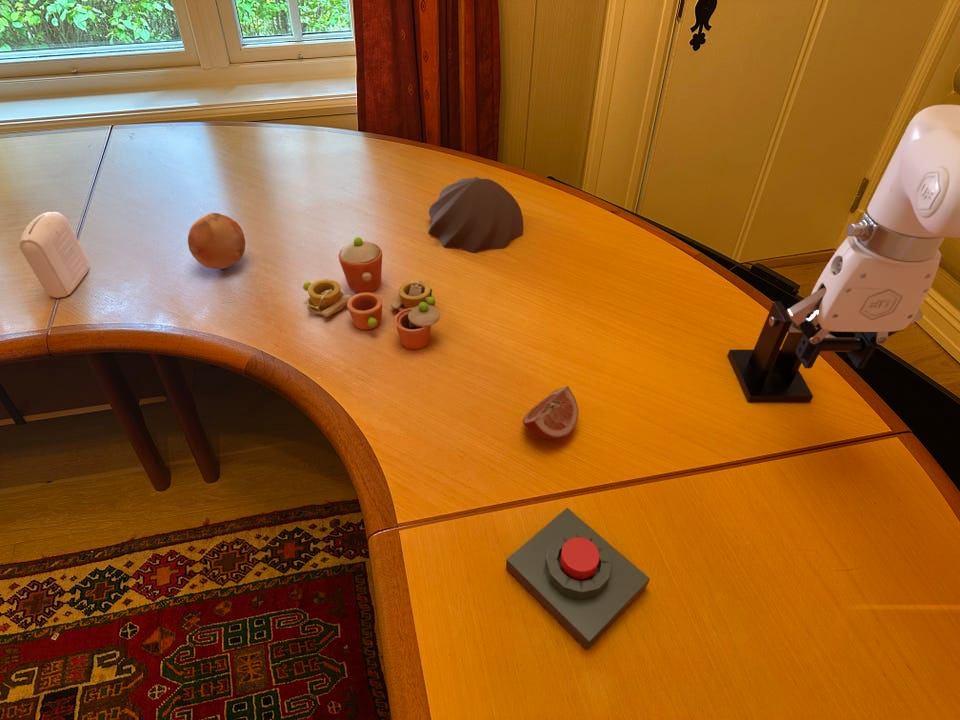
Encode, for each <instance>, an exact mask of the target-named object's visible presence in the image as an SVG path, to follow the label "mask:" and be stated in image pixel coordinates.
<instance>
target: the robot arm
mask: <svg viewBox="0 0 960 720" xmlns="http://www.w3.org/2000/svg"><path fill="white" fill-rule="evenodd" d="M846 234H847V237H846V238H845V239H844V241H842V243H841V244H840V246H839V247H838V248H837V250H836V251H835V252H834V254H833V255H832V257H830V260H829V261H828V262H827V264H826V266H825V267H824V269H823V271H822V272H821V274H820V277H818V280H817V281H816V283H815V285H814V287H813V289H812V291H811V294H810V295H808V296H806V297H805V298H803V299H802V300H800V301H799V302H797V303H795V304H793V305H792V306H790V307H789V308H787V310H786V311H787V313H788V315H789V316H790V318H791V320H792V321H793V322H794V323H795V324H796V325H797V326H798V327H799V328H800V329H801V331H802V332H803V333H804V334H803V336H802V338H801V340H800V342H799V344H798V346H797V348H796V355H797V356H798V358H799V359H800V361H801V362H802V363H801V365H802V366H803V368H804V369H811V368H813V366H814V365H815V362H816V361H817V358H818V357H819V356H820V354H821V352H820V351H821V349H822V347H823V344H822V342H821V340H822V339H823V338H824V337H825V336H826V335H827V334H830V333H831V332H839V333H840V332H841V333H844V332H845V333H846V332H847V333H855V335H854V337H853V338H862V339H863V340H864V342H865V347H864V349H863V351H861V352H845V353H846V355H847V356H848V358H849V359H850V361H851V363H852V364H853V365H854V367H855V368H856V369H859V370H860V369H862V370H863V369H864V368H865V366H866V364H867V363H868V362H869V360H870V358H871V357H872V355H873V353H874V352H875V350H876V348H877V347H878V345H883V344H885V343H886V342H887V341H888V338H889V337H891V336H892V335H894V334H896V333H898V332H901V331H903V330H905V329H906V328H907V327H908V326H909V325H912V324H914V323H915V322H918V321H920V320H922V319H923V318H924V314H923V312H922V310H921V307H922V306H923V303H924V301H925V299H926V297H927V295H928V294H929V291H930V290H931V287H932V285H933V283H934V280H935V278H936V275H937V272H938V269H939V266H940V263H941V258H942V253H941V251H940V250H939V249H940V247H941V245H942V244H943V242H944V240H945V239H946V238H951V239H952V238H954V239H960V105H959V104H935V105H931V106H928V107H926V108H923V109H922V110H920V111H918V112H917V113H916V114H914V116H913V118H912V119H911V120H910V121H909V123H908V125H907V126H906V129H905V131H904V133H903V135H902V136H901V139H900V141H899V143H898V145H897V147H896V148H895V151H894V153H893V155H892V157H891V159H890V161H889V162H888V165H887V167H886V169H885V171H884V173H883V174H882V176H881V179H880V181H879V183H878V185H877V187H876V189H875V191H874V194H873V196H872V198H871V199H870V201H869V203H868V206H867V207H866V209H865V211H864V213H863V214H862V215H861V219H860V220H859V221H857V222H855V223H854V222H851V223H850V224H848V226H847V228H846ZM814 310H815V312H814V313H813V314H812V315H811V316H810V317H809V318H807V317H806V316H807V315H808V314H809V313H811V312H813V311H814ZM818 324H820V327H819V328H818V329H816V328H815V327H816V326H817V325H818Z"/></svg>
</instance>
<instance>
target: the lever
mask: <svg viewBox="0 0 960 720" xmlns="http://www.w3.org/2000/svg"><path fill="white" fill-rule="evenodd" d="M806 317H807V316H806ZM815 328H816V327H815ZM816 329H818V328H816ZM788 332H802V331H801V329H800V328H799V327H798V326H797V325H796V324H795V323H794V322H793V321H792V324H791V326H790V328H789V330H788ZM788 332H787V333H788ZM821 342H822V344H823V347H822V349H821V351H820V353H821V352H822V353H823V352H827V353H828V352H831V353H832V352H833V353H835V352H839V353H840V352H842V353H843V352H844V353H846V352H861V351H863V349H864V347H865V342H864V340H863V339H862V338H854V337H836V336H834V335H832V334H831V333H828V334H827V335H826V336H825V337H824V338H823V339H822V340H821Z"/></svg>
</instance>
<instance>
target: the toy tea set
mask: <svg viewBox="0 0 960 720" xmlns="http://www.w3.org/2000/svg"><path fill="white" fill-rule="evenodd" d="M337 256H338V262H339V264H340V267H341V270H342V272H343V274H344V279H345V280H346V283H347V286H348V288H349V289H350V290H351V291H353V292H355V293H356V294H354V295H353V296H352V295H350V294H345V293H344V292H343V291H341V285H340V283H339V282H338V281H336V280H334V279H329V278H323V279H319V280H316V281H313V282H312V283H311V282H310V281H306V282H304V283H303V284H302V289H303V290H304V291H306V292H307V294H308V296H309V297H308V299H307V301H306V302H305V304H306V305H307V309H308V310H309V311H310V312H312V313H314V314H316V315H322V316H323V317H325V318H328V317H329V316H331V315H333V314H336V313H338V312H339V311H342V309H343V308H345V306H347V307H346V308H347V310H348V312H349V315H350V318H351V320H352V322H353V325H354V326H355V327H356V328H357V329H360V330H372V329H375V328H377V327H378V326H379V325H380V324H381V323H382V319H383V318H382V317H383V299H382V297H381V296H380V295H379V294H377V293H374V291H376V290H377V289H379V287H380V286H381V283H382V270H383V269H382V267H383V251H382V248H381V247H380V246H379V245H378V244H376V243H374V242H371V241H367V240H363V239H362V238H361V237H359V236H356V237H355V238H354V239H353V241H351V242H349V243H347V244H346V245H345V246H343V247H342V248H341V249H340V250H339V252H338V255H337ZM435 305H436V299H435V297H434V296H433V288H432V287H431V286H430V285H429V283H427V282H425V281H423V280H422V279H419V280H409V281H406V282H404V283H402V284H401V285H400V286H399V287H398V293H397V295H396V296H395V298H393V299H392V300H391V301H390V307H391V309H397V311H398V313H397V314H396V315H395V317H394V325H395V328H396V330H397V334H398V337H399V340H400V343H401V344H402V345H403V347H405V348H407V349H410V350H419V349H422V348H424V347H426V346H427V345H428V343H429V342H430V339H431V330H432V326H433V325H435V324H437V323H438V322H439V321H440V319H441V312H440V310H439V309H438V308H437V307H435Z"/></svg>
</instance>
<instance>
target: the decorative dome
mask: <svg viewBox="0 0 960 720" xmlns="http://www.w3.org/2000/svg"><path fill="white" fill-rule="evenodd" d="M428 215H429V218H430V221H431V224H430V225H429V228H428V230H427V233H428V235H431V236H432V237H434V238H436V239H438V240H439V242H440V244H441V245H442V247H443V248H453V249H461V250H464V251H466V252H469V253H471V254H476V253H479V252H483V251H485V250H493V249H495V250H499V249H502V250H503V249H505V248H507V246H508V245H509V243H510V242H511V241H513V240H516V239H518V238H520V237H522V236H523V234H524V217H523V212H522V209H521V206H520V205H519V202H518V201H517V200H516V198H515V197H514V196H513V195H512V194H511V193H510V192H509V191H508V190H507V189H506V188H504V187H503V186H502V185H501V184H500V183H498V182H496V181H494V180H493V179H489V178H481V177H478V176H473V177H470V178H469V177H468V178H467V177H465V178H460V179H459V180H457V181H456V182H453V183H452V184H449V185H447V186H446V187H444V188H442V189H441V191H440V192H439V195H438V199H436V201H434V202H433V203H432V204H431V205H430V207H429V209H428Z"/></svg>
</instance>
